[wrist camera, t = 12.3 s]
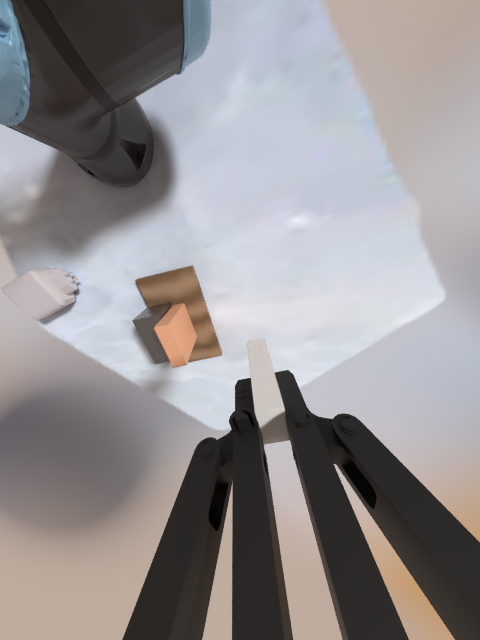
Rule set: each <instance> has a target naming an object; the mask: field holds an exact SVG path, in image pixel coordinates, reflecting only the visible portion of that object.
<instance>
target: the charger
mask: <svg viewBox="0 0 480 640" xmlns="http://www.w3.org/2000/svg"><path fill="white" fill-rule="evenodd" d="M70 273H72V271H70V270H69V271H68V272H65V271H63V270H62V269H60V268H55V269H54V270H51V269H48V268H44V267H43V268H37V269H31V270H29V271H27V272H26V273H24V274H23V275H21V276H20V277H18V278H17V279H15V280H13V281H12V282H10V283H9V284H7V285H6V286H4V287H3V288H2V291H3V293H4V294H5V295H6V296H7V297H8V298H10V299H11V300H12V301H13V302H14V303H15V304H16V305H17V306H18V307H19V308H21V309H22V310H23V311H24V312H25V313H26V314H27V315H28V316H30V317H31V318H32V319H34V320H37V321H38V320H41V319H43V318H46V317H48V316H50V315H52V314H54V313H55V312H57V311H59V310H61V309H62V308H64V307H66V306H68V305H69V304H71V303H73V302H75V301H76V297H75V294H74V293H73V292H74V291H76V290H77V288H78V287H77V285H76V282H75V280H77V279H78V278H77V277H75V278H73V279H72V278H71V276H70V275H69V274H70Z"/></svg>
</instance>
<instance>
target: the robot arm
mask: <svg viewBox="0 0 480 640" xmlns="http://www.w3.org/2000/svg"><path fill="white" fill-rule="evenodd" d="M210 31H211V0H0V124H2V125H5V126H7V127H9V128H11V129H14V130H16V131H18V132H20V133H22V134H25V135H27V136H29V137H31V138H33V139H36V140H38V141H40V142H42V143H44V144H47V145H49V146H51V147H53V148H55V149H58V150H60V151H62V152H64V153H66V154H68V155H69V156H70V157H71V158H72V159H73V160H74V161H75V162H76V163H77V164H78V165H79V166H80V167H81V168H82V169H83V170H84V171H85V172H87V173H88V174H89V175H91V176H92V177H94V178H96V179H97V180H100V181H102V182H104V183H107V184H109V185H112V186H117V187H127V186H131V185H134V184H136V183H138V182H139V181H140V180H141V179H142V178H143V177H144V176H145V175H146V173H147V172H148V170H149V167H150V165H151V161H152V156H153V139H152V133H151V129H150V125H149V122H148V120H147V117H146V115H145V113H144V111H143V109H142V107H141V106H140V104H139V103H138V101H137V100H136V98H135V97H137V96H139V95H141V94H142V93H144V92H146V91H147V90H149V89H151V88H152V87H154V86H156V85H158V84H159V83H161V82H163V81H164V80H166V79H168V78H170V77H171V76H173V75H175V74H176V75H179V74H182V72H183V71H184V70H185V67H187V66H188V65H189V64H191V63H192V62H194V61H195V60H197V59H198V58H199V57H201V56H202V55H203V53H204V52H205V49H206V47H207V45H208V42H209V38H210ZM247 350H248V358H249V367H250V375H251V378H247V379H242V380H238V381H237V384H236V386H235V411H234V412H233V413H232V415H231V416H230V419H229V423H230V426H231V428H232V430H231V431H230V432H229V433H228V434H227V435H226V436H223V437H222V438H220V439H218V440H216V439H215V438H211V437H210V438H206V439H204V440H202V441H201V442H200V443H199V444H198V445H197V447H196V449H195V451H194V454H193V456H192V459H191V462H190V464H189V467H188V469H187V472H186V475H185V477H184V480H183V483H182V485H181V488H180V490H179V493H178V496H177V498H176V501H175V503H174V506H173V509H172V511H171V514H170V517H169V519H168V522H167V524H166V527H165V530H164V532H163V535H162V537H161V540H160V543H159V546H158V548H157V551H156V553H155V556H154V559H153V562H152V564H151V566H150V569H149V571H148V574H147V577H146V579H145V582H144V585H143V587H142V590H141V592H140V595H139V598H138V600H137V603H136V606H135V608H134V611H133V613H132V616H131V619H130V621H129V624H128V627H127V629H126V632H125V634H124V637H123V640H202V637H203V632H204V627H205V622H206V616H207V611H208V606H209V601H210V596H211V590H212V585H213V580H214V575H215V569H216V564H217V559H218V554H219V549H220V543H221V538H222V533H223V528H224V522H225V517H226V512H227V507H228V501H229V496H230V491H231V486H232V481H233V551H232V552H233V553H232V554H233V555H232V558H233V559H232V560H233V561H232V573H233V574H232V586H233V587H232V640H293V636H292V629H291V622H290V615H289V609H288V601H287V595H286V588H285V581H284V574H283V568H282V561H281V554H280V547H279V540H278V533H277V526H276V520H275V513H274V506H273V500H272V492H271V486H270V479H269V472H268V465H267V458H266V454H265V450H264V444H269V443H275V442H281V441H287V440H290V441H291V445H292V451H293V456H294V460H295V462H296V466H297V470H298V474H299V477H300V481H301V485H302V488H303V492H304V496H305V500H306V504H307V507H308V511H309V514H310V519H311V522H312V526H313V530H314V534H315V537H316V541H317V545H318V549H319V552H320V556H321V559H322V563H323V567H324V571H325V575H326V579H327V582H328V586H329V590H330V594H331V597H332V601H333V605H334V609H335V612H336V616H337V620H338V624H339V628H340V631H341V634H342V638H343V640H409V639H408V636H407V634H406V632H405V629H404V627H403V625H402V622H401V620H400V618H399V615H398V613H397V611H396V608H395V606H394V604H393V602H392V599H391V597H390V595H389V592H388V590H387V588H386V585H385V584H384V581H383V578H382V576H381V574H380V571H379V569H378V567H377V564H376V562H375V560H374V557H373V555H372V553H371V550H370V548H369V546H368V543H367V541H366V539H365V537H364V534H363V532H362V529H361V527H360V525H359V522H358V520H357V518H356V515H355V513H354V511H353V508H352V506H351V504H350V501H349V499H348V497H347V494H346V492H345V490H344V487H343V485H342V483H341V480H340V478H339V476H338V474H337V471H336V469H335V466H334V464H336V465H337V466H338V468H339V469H340V471H341V472H342V474H343V475H344V476H345V478H346V479H347V481H348V482H349V484H350V485H351V487H352V488H353V490H354V491H355V493H356V494H357V496H358V497H359V499H360V500H361V502H362V503H363V504H364V506H365V507H366V509H367V510H368V512H369V513H370V515H371V516H372V518H373V519H374V521H375V522H376V524H377V525H378V526H379V528H380V530H381V531H382V532H383V534H384V535H385V537H386V538H387V540H388V541H389V543H390V544H391V546H392V547H393V549H394V550H395V551H396V553H397V554H398V556H399V557H400V559H401V560H402V562H403V563H404V565H405V566H406V568H407V569H408V571H409V572H410V574H411V575H412V576H413V578H414V580H415V581H416V583H417V584H418V585H419V587H420V588H421V590H422V591H423V593H424V594H425V596H426V597H427V599H428V600H429V602H430V603H431V605H432V606H433V608H434V609H435V611H436V612H437V613H438V615H439V616H440V618H441V619H442V621H443V622H444V624H445V625H446V627H447V628H448V630H449V631H450V632H451V634H452V635H453V637H454V639H455V640H480V542H479V541H478V540H477V539H476V538H475V537H474V536H473V535H472V534H471V533H470V532H469V531H468V530H467V529H466V528H465V527H464V526H463V525H462V524H461V523H460V522H459V521H458V520H457V519H456V518H455V517H454V516H453V515H452V514H451V513H450V512H449V511H448V510H447V509H446V508H445V507H444V506H443V505H442V504H441V503H440V502H439V501H438V500H437V499H436V498H435V497H434V496H433V495H432V493H431V492H429V490H428V489H426V487H425V486H424V485H423V484H422V483H420V481H419V480H418V479H417V478H416V477H415V476H414V475H413V474H412V473H411V472H410V471H409V470H408V469H407V468H406V467H405V466H404V465H403V464H402V463H401V462H400V461H399V460H398V459H397V458H396V457H395V456H394V455H393V454H392V453H391V452H390V451H389V450H388V449H387V448H386V447H385V446H384V445H383V444H382V443H381V442H380V441H379V440H378V439H377V438H376V437H375V436H374V435H373V433H372V432H371V431H370V430H369V429H367V427H366V426H365V425H364V424H363V423H361V421H360V420H358V419H357V418H356V417H354V416H352V415H349V414H338V415H337V416H335V417H334V418H333V419H328V418H322V417H318V416H316V415H314V414H312V413H311V412H310V411H309V410H308V408H307V406H306V404H305V401H304V399H303V397H302V394H301V392H300V390H299V387H298V385H297V382H296V380H295V378H294V375H293V374H292V373H291V372H290V371H289V370H286V371H281V372H276V373H274V370H273V366H272V363H271V359H270V356H269V353H268V349H267V346H266V342H265V339H259V340H254V341H250V342H247Z"/></svg>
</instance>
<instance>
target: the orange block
mask: <svg viewBox="0 0 480 640" xmlns="http://www.w3.org/2000/svg"><path fill="white" fill-rule="evenodd" d="M154 329H155V331H156V333H157V336H158V338H159V340H160V342H161V344H162V346H163V348H164V350H165V352H166V354H167V356H168V358H169V360H170V362H171V364H172V366H173V368H175V367H179V366H184V365H187V363H188V360H189V357H190V355H191V352H192V349H193V346H194V344H195V341H196V338H197V335H196V332H195V330H194V327H193V324H192V322H191V319H190V317H189V314H188V312H187V309H186V306H185V304H184V303H182V304H177V305H173V306H172V307H171V308H170V309H169V311H168V312H167V313H166V314H165V315H164V316H163V318H162V319H161V320H160V321H159V322H158V323H157V325H156V326H155V327H154Z"/></svg>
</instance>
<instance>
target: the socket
mask: <svg viewBox="0 0 480 640" xmlns="http://www.w3.org/2000/svg"><path fill="white" fill-rule="evenodd" d="M171 307H172V304H171V302H167V303H163V304H159V305H154V306H150V307H148V308H146V309H145V310H144V311H143V312H142V313H141V314H139V315H138V316H137V317H136V318H135V319H134V320H132V321H133V323H134V325H135V327H136V328H137V330H138V332H139V334H140V336H141V338H142V340H143V341H144V343H145V345H146V347H147V349H148V351H149V352H150V354H151V356H152V358H153V360H154V362H155V363H156V364H159V363H164V362H168V361H170V360H169V358H168V356H167V354H166V352H165V350H164V348H163V346H162V344H161V342H160V340H159V338H158V336H157V333H156V331H155V329H154V327H155V326H156V325H157V323H158V322H159V321H160V320H161V319H162V318H163V316H164V315H165V314H166V313H167V312H168V311H169V309H170V308H171Z"/></svg>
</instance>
